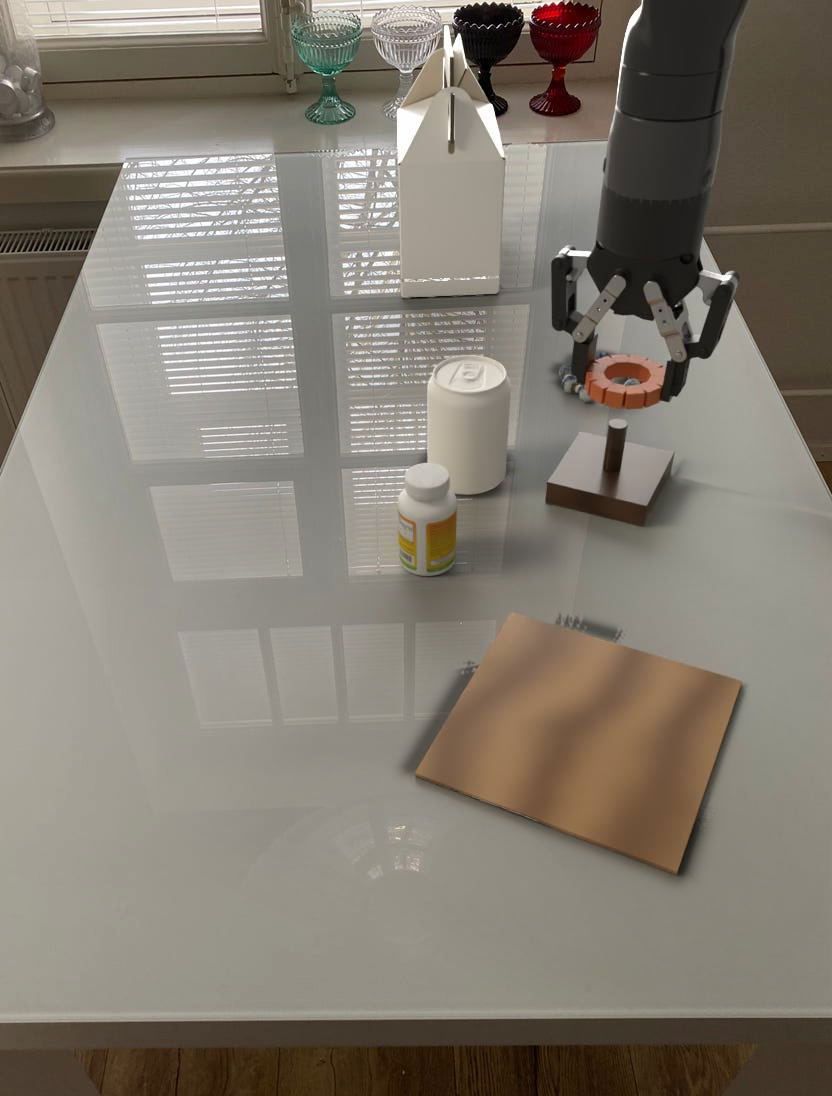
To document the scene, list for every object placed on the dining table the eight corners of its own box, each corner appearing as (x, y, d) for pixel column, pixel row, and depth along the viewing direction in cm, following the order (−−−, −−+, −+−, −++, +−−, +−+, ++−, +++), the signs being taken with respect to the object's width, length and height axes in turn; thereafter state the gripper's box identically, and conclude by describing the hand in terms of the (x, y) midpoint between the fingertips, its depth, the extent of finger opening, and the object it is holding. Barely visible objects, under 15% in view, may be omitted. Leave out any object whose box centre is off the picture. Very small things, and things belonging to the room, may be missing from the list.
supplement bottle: (460, 545, 96) (463, 461, 89) (449, 581, 92) (451, 496, 85) (406, 538, 97) (404, 454, 90) (393, 573, 93) (390, 488, 86)
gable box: (499, 296, 133) (510, 62, 114) (401, 300, 134) (395, 68, 114) (487, 230, 149) (495, 15, 130) (399, 234, 150) (394, 21, 130)
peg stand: (670, 472, 102) (683, 408, 97) (643, 527, 96) (655, 462, 91) (577, 451, 106) (584, 388, 101) (544, 502, 100) (551, 438, 95)
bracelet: (658, 397, 113) (661, 382, 111) (579, 414, 111) (581, 398, 110) (618, 358, 120) (620, 343, 118) (543, 373, 118) (545, 358, 117)
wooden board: (741, 684, 81) (742, 680, 80) (676, 875, 68) (677, 872, 68) (510, 615, 88) (511, 611, 88) (414, 776, 76) (414, 773, 76)
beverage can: (420, 495, 102) (419, 391, 93) (435, 451, 107) (435, 349, 99) (499, 503, 100) (505, 398, 92) (509, 458, 106) (516, 355, 97)
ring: (675, 378, 82) (678, 363, 81) (652, 416, 78) (654, 400, 77) (600, 363, 84) (602, 348, 83) (574, 399, 80) (575, 384, 79)
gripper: (776, 170, 69) (725, 385, 81) (578, 146, 74) (557, 350, 86) (750, 209, 64) (701, 431, 76) (541, 180, 70) (525, 391, 81)
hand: (625, 387), depth 81 cm, fingers closed on ring, 6 cm apart
